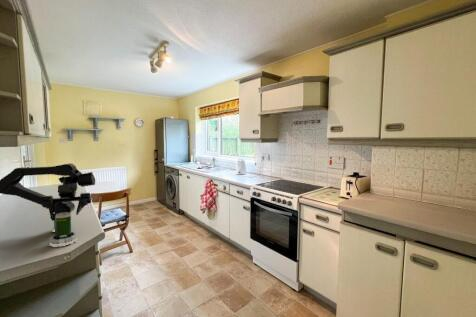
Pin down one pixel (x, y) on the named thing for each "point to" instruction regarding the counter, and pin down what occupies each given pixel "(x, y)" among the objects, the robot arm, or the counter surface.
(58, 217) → the beer can
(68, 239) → the duct collar
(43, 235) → the counter surface
